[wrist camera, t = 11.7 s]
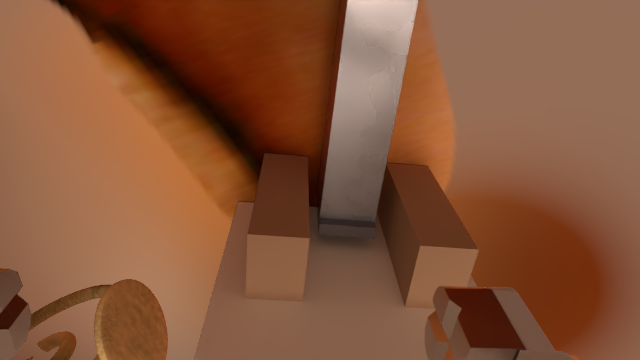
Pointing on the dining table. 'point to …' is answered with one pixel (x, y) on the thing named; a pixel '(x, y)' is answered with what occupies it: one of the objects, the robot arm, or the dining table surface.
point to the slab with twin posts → (333, 272)
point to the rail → (361, 112)
